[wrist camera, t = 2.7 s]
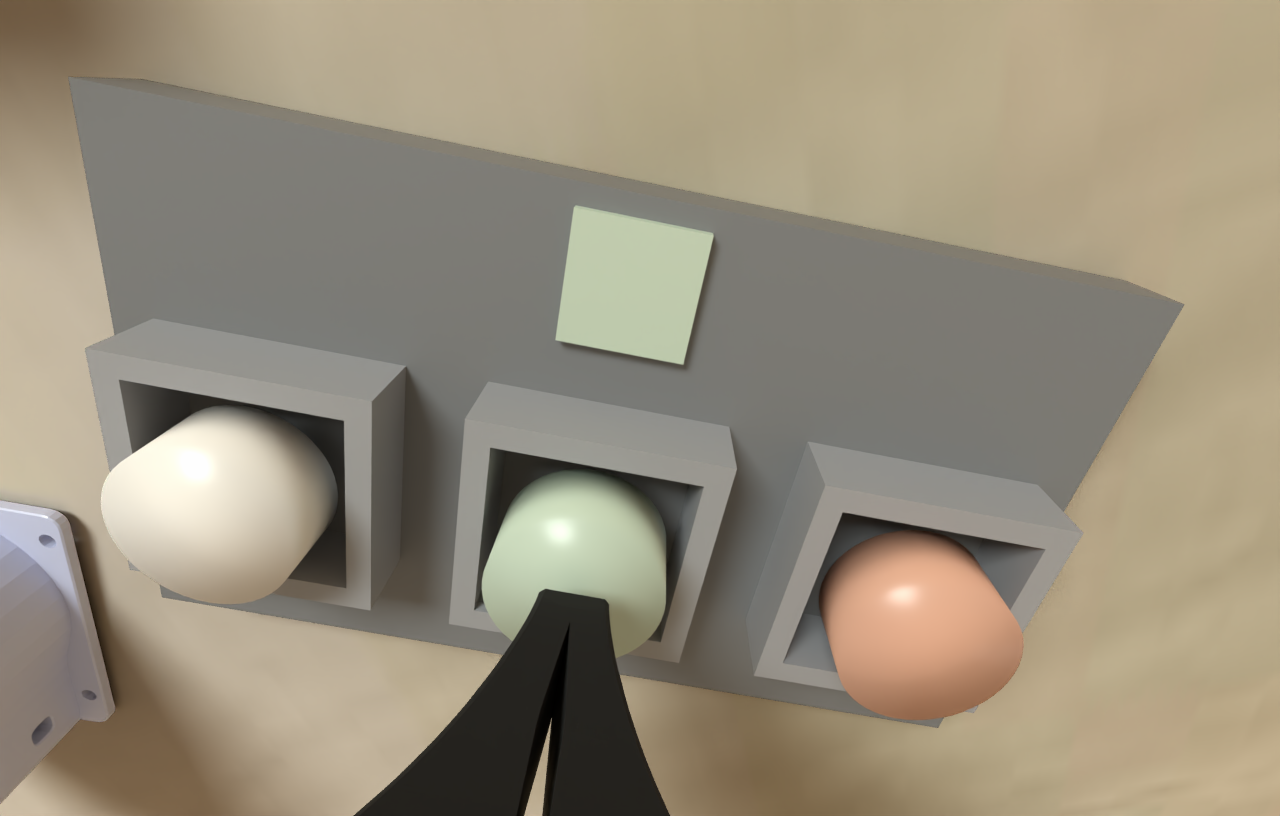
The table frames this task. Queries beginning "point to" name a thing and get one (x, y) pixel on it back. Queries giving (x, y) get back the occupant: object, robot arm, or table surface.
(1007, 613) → the terracotta button
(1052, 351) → the button board
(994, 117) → the table surface
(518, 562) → the sage green button
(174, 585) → the off-white button
